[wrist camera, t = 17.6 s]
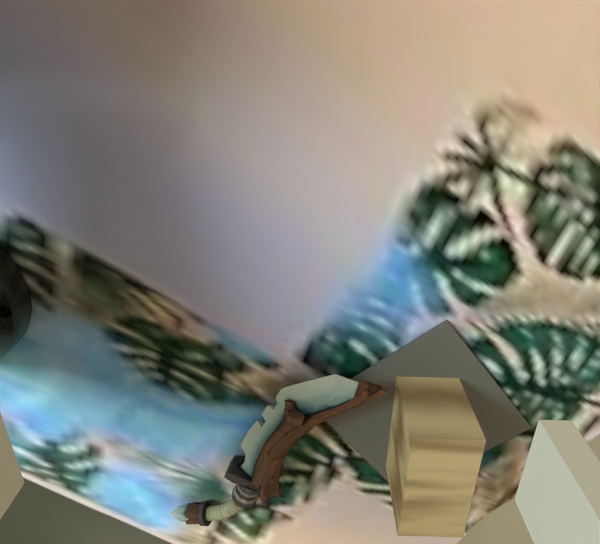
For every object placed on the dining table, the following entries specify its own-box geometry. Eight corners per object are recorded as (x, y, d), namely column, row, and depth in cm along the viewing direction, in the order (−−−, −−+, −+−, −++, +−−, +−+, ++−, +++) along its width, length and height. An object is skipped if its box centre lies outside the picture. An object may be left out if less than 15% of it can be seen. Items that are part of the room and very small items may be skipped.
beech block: (462, 537, 43) (486, 440, 38) (397, 535, 43) (412, 438, 38) (441, 467, 50) (458, 377, 45) (385, 465, 51) (396, 376, 45)
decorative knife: (178, 497, 56) (313, 326, 44) (239, 535, 57) (388, 376, 45) (162, 530, 52) (305, 351, 40) (227, 570, 53) (388, 406, 41)
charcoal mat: (399, 490, 53) (400, 494, 52) (311, 403, 48) (311, 406, 47) (529, 424, 48) (531, 428, 48) (446, 319, 43) (448, 322, 43)
